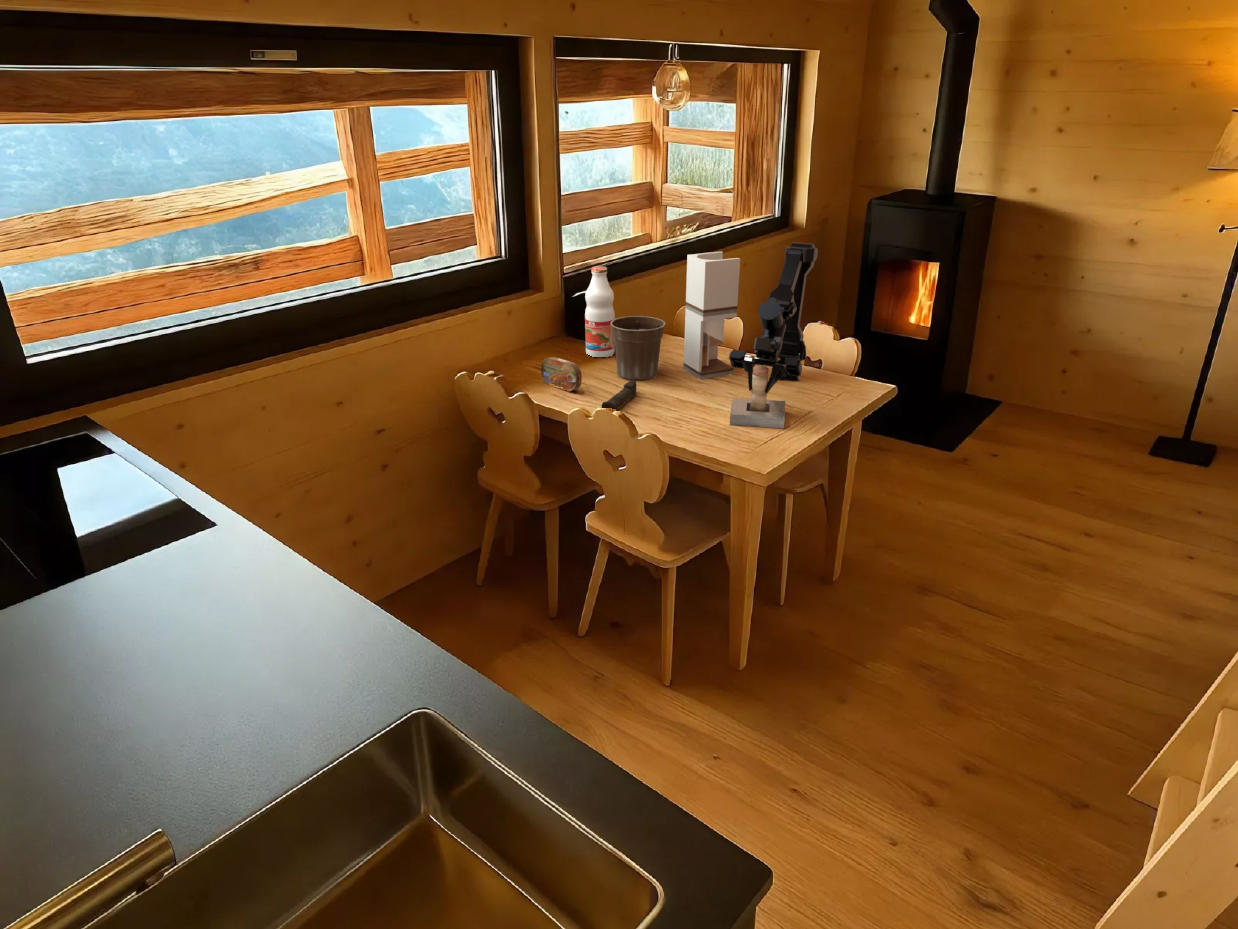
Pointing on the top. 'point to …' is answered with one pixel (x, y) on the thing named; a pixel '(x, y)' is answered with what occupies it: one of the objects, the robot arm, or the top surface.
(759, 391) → the beech pin
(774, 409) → the square hole block
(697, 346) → the white tower stand
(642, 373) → the plant pot
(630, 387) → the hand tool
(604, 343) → the fruit juice
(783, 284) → the robot arm
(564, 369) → the tin
